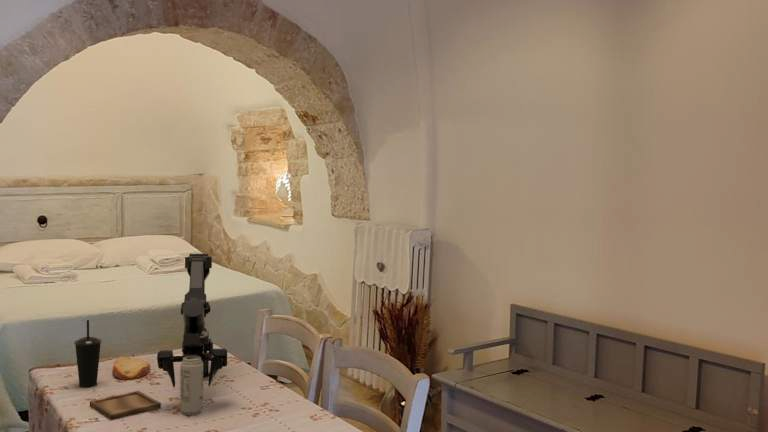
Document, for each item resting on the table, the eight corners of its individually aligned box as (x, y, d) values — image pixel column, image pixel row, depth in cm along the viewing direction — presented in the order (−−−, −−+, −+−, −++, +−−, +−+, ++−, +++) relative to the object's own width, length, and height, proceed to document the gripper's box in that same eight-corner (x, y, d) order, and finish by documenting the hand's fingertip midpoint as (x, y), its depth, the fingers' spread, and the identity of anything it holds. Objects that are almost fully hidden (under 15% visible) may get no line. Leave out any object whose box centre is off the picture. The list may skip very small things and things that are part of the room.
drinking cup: (91, 390, 207) (91, 323, 206) (68, 388, 209) (68, 322, 208) (107, 382, 215) (106, 318, 214) (84, 380, 216) (84, 316, 215)
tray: (138, 395, 203) (138, 390, 203) (160, 408, 193) (160, 402, 193) (89, 406, 193) (89, 401, 193) (110, 420, 183) (110, 414, 183)
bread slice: (125, 361, 240) (125, 350, 239) (168, 368, 233) (168, 357, 233) (85, 375, 223) (85, 363, 223) (131, 383, 216) (131, 371, 216)
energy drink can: (205, 413, 190) (206, 359, 189) (183, 417, 187) (183, 362, 186) (199, 406, 195) (199, 354, 194) (177, 410, 192) (177, 356, 191)
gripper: (157, 321, 192) (153, 372, 182) (227, 320, 196) (226, 369, 186) (160, 343, 200) (156, 393, 190) (227, 341, 204) (226, 390, 194)
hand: (191, 386), depth 189 cm, fingers open, 9 cm apart
